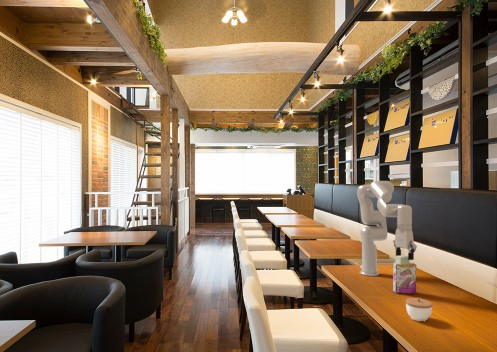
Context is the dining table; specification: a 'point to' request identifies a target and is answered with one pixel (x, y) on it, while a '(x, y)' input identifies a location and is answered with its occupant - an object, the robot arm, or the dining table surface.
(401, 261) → the sage block
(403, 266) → the candy bar box
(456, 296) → the dining table surface
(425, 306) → the lidded jar
